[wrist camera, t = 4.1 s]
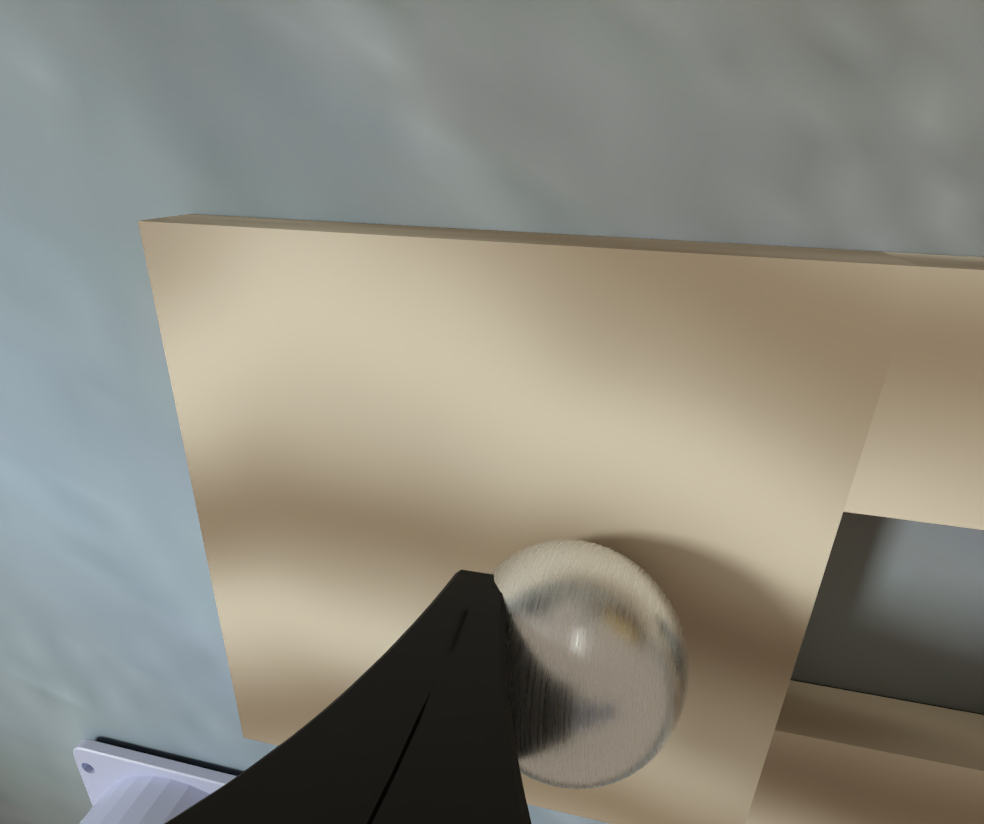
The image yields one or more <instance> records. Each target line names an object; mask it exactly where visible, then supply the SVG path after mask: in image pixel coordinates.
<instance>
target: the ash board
mask: <svg viewBox="0 0 984 824" xmlns="http://www.w3.org/2000/svg"><path fill="white" fill-rule="evenodd" d="M138 224H139V229H140V233H141V238H142V243H143V248H144V253H145V258H146V263H147V268H148V273H149V277H150V282H151V287H152V292H153V297H154V302H155V307H156V312H157V317H158V321H159V326H160V331H161V336H162V341H163V346H164V351H165V356H166V361H167V365H168V370H169V375H170V380H171V385H172V390H173V395H174V400H175V404H176V409H177V414H178V419H179V424H180V429H181V434H182V439H183V444H184V448H185V453H186V458H187V463H188V468H189V473H190V478H191V483H192V488H193V492H194V497H195V502H196V507H197V512H198V517H199V522H200V527H201V532H202V536H203V541H204V546H205V551H206V556H207V561H208V566H209V571H210V576H211V580H212V585H213V590H214V595H215V600H216V605H217V610H218V615H219V620H220V624H221V629H222V634H223V639H224V644H225V649H226V654H227V659H228V663H229V668H230V673H231V678H232V683H233V688H234V693H235V698H236V703H237V707H238V712H239V717H240V722H241V727H242V732H243V737H244V738H248V739H252V740H257V741H261V742H265V743H269V744H274V745H278V746H279V745H280V744H282V743H283V742H284V741H286V740H287V739H288V738H290V737H291V736H292V735H293V734H295V733H296V732H297V731H298V730H300V729H301V728H302V727H303V726H305V725H306V724H307V723H308V722H309V721H311V720H312V719H313V718H314V717H316V716H317V715H318V714H319V713H320V712H322V711H323V710H324V709H325V708H326V707H327V706H329V705H330V704H331V703H332V702H333V701H334V700H335V699H337V698H338V697H339V696H340V695H341V694H342V693H343V692H344V691H346V690H347V689H348V688H349V687H350V686H351V685H352V684H353V683H354V682H355V681H356V680H357V679H358V678H359V677H360V676H361V675H363V674H364V673H365V672H366V671H367V670H368V669H369V668H370V667H371V666H372V665H373V664H374V663H375V662H376V661H377V660H378V659H379V658H380V657H381V656H382V655H383V654H384V653H385V652H386V651H387V650H388V649H389V648H390V647H391V646H392V645H393V644H394V643H395V642H396V641H397V640H398V639H399V638H400V637H401V636H402V634H403V633H404V632H405V631H406V630H407V629H408V628H409V627H410V626H411V625H412V624H413V623H414V622H415V621H416V620H417V618H418V617H419V616H420V615H421V614H422V613H423V612H424V610H425V609H426V608H427V607H428V606H429V605H430V604H431V602H432V601H433V600H434V599H435V598H436V597H437V595H438V594H439V593H440V592H441V591H442V589H443V588H444V587H445V586H446V585H447V583H448V582H449V581H450V580H451V578H452V577H453V576H454V574H455V573H457V572H458V571H460V570H468V571H474V572H481V573H487V574H489V573H490V572H491V571H492V570H493V569H494V568H495V567H496V566H497V565H498V564H500V563H501V562H503V561H504V560H505V559H507V558H508V557H510V556H511V555H513V554H515V553H516V552H518V551H520V550H522V549H524V548H527V547H530V546H533V545H535V544H539V543H543V542H548V541H553V540H581V541H586V542H591V543H596V544H599V545H602V546H604V547H607V548H610V549H612V550H614V551H616V552H618V553H620V554H622V555H624V556H626V557H627V558H629V559H630V560H632V561H633V562H635V563H636V564H638V565H639V566H640V567H641V568H642V569H643V570H644V571H646V572H647V573H648V574H649V575H650V576H651V577H652V578H653V579H654V581H655V582H656V583H657V584H658V585H659V586H660V587H661V589H662V590H663V592H664V593H665V595H666V596H667V598H668V599H669V601H670V603H671V604H672V606H673V608H674V610H675V612H676V614H677V616H678V619H679V621H680V624H681V627H682V629H683V633H684V637H685V641H686V645H687V652H688V660H689V682H688V689H687V696H686V700H685V704H684V708H683V711H682V714H681V717H680V719H679V721H678V724H677V726H676V728H675V730H674V732H673V733H672V735H671V737H670V738H669V740H668V742H667V743H666V745H665V746H664V747H663V748H662V749H661V751H660V752H659V753H658V754H657V755H656V757H654V758H653V759H652V760H651V761H650V762H649V763H648V764H647V765H645V766H644V767H643V768H642V769H640V770H639V771H637V772H635V773H634V774H632V775H631V776H629V777H627V778H625V779H622V780H620V781H618V782H616V783H613V784H609V785H605V786H601V787H595V788H586V789H571V788H561V787H556V786H551V785H547V784H544V783H542V782H539V781H536V780H534V779H531V778H530V777H528V776H526V775H524V774H522V773H521V777H522V782H523V788H524V792H525V797H526V802H527V804H530V805H534V806H538V807H543V808H547V809H551V810H555V811H560V812H564V813H568V814H573V815H577V816H581V817H585V818H590V819H594V820H598V821H602V822H607V823H611V824H984V715H980V714H975V713H969V712H964V711H958V710H953V709H947V708H942V707H936V706H930V705H925V704H919V703H914V702H908V701H903V700H897V699H892V698H886V697H881V696H875V695H870V694H864V693H858V692H853V691H847V690H842V689H836V688H831V687H825V686H820V685H814V684H809V683H803V682H798V681H792V680H791V676H792V673H793V670H794V667H795V664H796V660H797V657H798V654H799V651H800V648H801V645H802V641H803V638H804V635H805V632H806V629H807V625H808V622H809V619H810V616H811V613H812V610H813V606H814V603H815V600H816V597H817V594H818V590H819V587H820V584H821V581H822V578H823V575H824V571H825V568H826V565H827V562H828V559H829V555H830V552H831V549H832V546H833V543H834V540H835V536H836V533H837V530H838V527H839V524H840V521H841V517H842V514H843V512H849V513H857V514H865V515H872V516H880V517H888V518H896V519H903V520H911V521H919V522H926V523H934V524H942V525H950V526H957V527H965V528H973V529H980V530H984V257H970V256H951V255H933V254H915V253H897V252H878V251H860V250H842V249H823V248H805V247H787V246H769V245H750V244H732V243H714V242H696V241H677V240H659V239H641V238H622V237H604V236H586V235H568V234H549V233H531V232H513V231H494V230H476V229H458V228H440V227H421V226H403V225H385V224H366V223H348V222H330V221H312V220H293V219H275V218H257V217H239V216H220V215H202V214H187V215H179V216H172V217H164V218H156V219H149V220H141V221H138Z"/></svg>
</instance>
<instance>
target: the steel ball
mask: <svg viewBox="0 0 984 824" xmlns="http://www.w3.org/2000/svg"><path fill="white" fill-rule="evenodd" d="M489 574H494V581H495V583H496V585H497V587H498V588H499V590H500V592H501V593H502V595H503V600H504V604H505V607H506V611H507V615H506V663H507V679H508V690H509V700H510V708H511V716H512V723H513V731H514V737H515V744H516V750H517V756H518V761H519V767H520V772H521V773H522V774H524V775H526V776H528V777H530V778H531V779H534V780H536V781H539V782H542V783H544V784H547V785H551V786H556V787H561V788H571V789H586V788H595V787H601V786H605V785H609V784H613V783H616V782H618V781H620V780H622V779H625V778H627V777H629V776H631V775H632V774H634V773H635V772H637V771H639V770H640V769H642V768H643V767H644V766H645V765H647V764H648V763H649V762H650V761H651V760H652V759H653V758H654V757H656V755H657V754H658V753H659V752H660V751H661V749H662V748H663V747H664V746H665V745H666V743H667V742H668V740H669V738H670V737H671V735H672V733H673V732H674V730H675V728H676V726H677V724H678V721H679V719H680V717H681V714H682V711H683V708H684V704H685V700H686V696H687V689H688V682H689V660H688V652H687V645H686V641H685V637H684V633H683V629H682V627H681V624H680V621H679V619H678V616H677V614H676V612H675V610H674V608H673V606H672V604H671V603H670V601H669V599H668V598H667V596H666V595H665V593H664V592H663V590H662V589H661V587H660V586H659V585H658V584H657V583H656V582H655V581H654V579H653V578H652V577H651V576H650V575H649V574H648V573H647V572H646V571H644V570H643V569H642V568H641V567H640V566H639V565H638V564H636V563H635V562H633V561H632V560H630V559H629V558H627V557H626V556H624V555H622V554H620V553H618V552H616V551H614V550H612V549H610V548H607V547H604V546H602V545H599V544H596V543H591V542H586V541H581V540H553V541H548V542H543V543H539V544H535V545H533V546H530V547H527V548H524V549H522V550H520V551H518V552H516V553H515V554H513V555H511V556H510V557H508V558H507V559H505V560H504V561H503V562H501V563H500V564H498V565H497V566H496V567H495V568H494V569H493V570H492V571H491V572H490V573H489Z"/></svg>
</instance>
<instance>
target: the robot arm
mask: <svg viewBox="0 0 984 824" xmlns="http://www.w3.org/2000/svg"><path fill="white" fill-rule="evenodd" d="M506 615H507V611H506V607H505V604H504V600H503V595H502V593H501V592H500V590H499V588H498V587H497V585H496V583H495V581H494V574H487V573H481V572H474V571H468V570H460V571H458V572H457V573H455V574H454V576H453V577H452V578H451V580H450V581H449V582H448V583H447V585H446V586H445V587H444V588H443V589H442V591H441V592H440V593H439V594H438V595H437V597H436V598H435V599H434V600H433V601H432V602H431V604H430V605H429V606H428V607H427V608H426V609H425V610H424V612H423V613H422V614H421V615H420V616H419V617H418V618H417V620H416V621H415V622H414V623H413V624H412V625H411V626H410V627H409V628H408V629H407V630H406V631H405V632H404V633H403V634H402V636H401V637H400V638H399V639H398V640H397V641H396V642H395V643H394V644H393V645H392V646H391V647H390V648H389V649H388V650H387V651H386V652H385V653H384V654H383V655H382V656H381V657H380V658H379V659H378V660H377V661H376V662H375V663H374V664H373V665H372V666H371V667H370V668H369V669H368V670H367V671H366V672H365V673H364V674H363V675H361V676H360V677H359V678H358V679H357V680H356V681H355V682H354V683H353V684H352V685H351V686H350V687H349V688H348V689H347V690H346V691H344V692H343V693H342V694H341V695H340V696H339V697H338V698H337V699H335V700H334V701H333V702H332V703H331V704H330V705H329V706H327V707H326V708H325V709H324V710H323V711H322V712H320V713H319V714H318V715H317V716H316V717H314V718H313V719H312V720H311V721H309V722H308V723H307V724H306V725H305V726H303V727H302V728H301V729H300V730H298V731H297V732H296V733H295V734H293V735H292V736H291V737H290V738H288V739H287V740H286V741H284V742H283V743H282V744H280V745H279V746H278V747H276V748H275V749H274V750H272V751H271V752H270V753H268V754H267V755H266V756H264V757H263V758H262V759H260V760H259V761H258V762H256V763H255V764H254V765H252V766H251V767H249V768H248V769H247V770H245V771H244V772H242V773H241V774H239V775H238V776H235V775H231V774H227V773H223V772H219V771H215V770H211V769H207V768H203V767H199V766H195V765H191V764H187V763H183V762H178V761H174V760H170V759H166V758H162V757H158V756H154V755H150V754H146V753H142V752H138V751H134V750H130V749H126V748H122V747H118V746H114V745H110V744H106V743H102V742H98V741H94V740H88V739H86V740H82V741H81V742H80V743H79V744H78V745H77V746H76V747H75V749H74V750H73V754H74V758H75V761H76V763H77V766H78V769H79V771H80V774H81V777H82V779H83V782H84V784H85V787H86V790H87V792H88V795H89V798H90V800H91V803H92V806H93V808H92V809H91V810H90V811H89V812H88V814H87V815H86V816H85V817H84V818H83V820H82V821H81V822H80V823H79V824H531V820H530V816H529V811H528V806H527V802H526V797H525V792H524V788H523V782H522V777H521V772H520V767H519V761H518V756H517V750H516V744H515V737H514V731H513V723H512V716H511V708H510V700H509V690H508V679H507V663H506Z"/></svg>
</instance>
